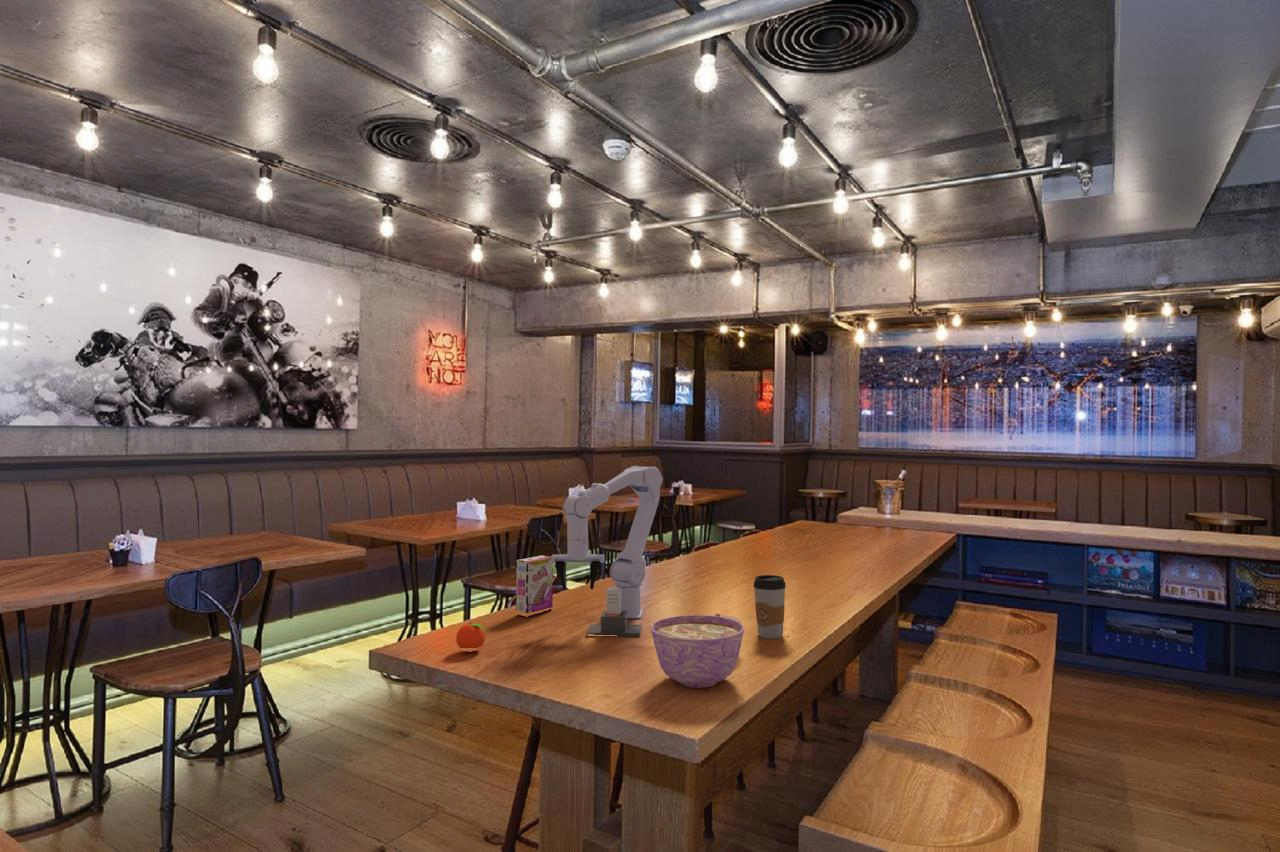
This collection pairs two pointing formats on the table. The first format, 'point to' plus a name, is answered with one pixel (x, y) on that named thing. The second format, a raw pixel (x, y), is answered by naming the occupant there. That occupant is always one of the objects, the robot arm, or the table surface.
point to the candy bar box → (534, 584)
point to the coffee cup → (769, 605)
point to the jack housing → (615, 626)
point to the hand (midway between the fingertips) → (578, 588)
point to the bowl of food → (697, 648)
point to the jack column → (614, 601)
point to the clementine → (470, 636)
